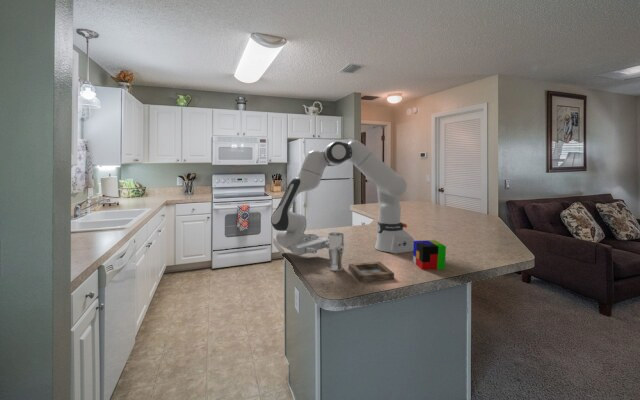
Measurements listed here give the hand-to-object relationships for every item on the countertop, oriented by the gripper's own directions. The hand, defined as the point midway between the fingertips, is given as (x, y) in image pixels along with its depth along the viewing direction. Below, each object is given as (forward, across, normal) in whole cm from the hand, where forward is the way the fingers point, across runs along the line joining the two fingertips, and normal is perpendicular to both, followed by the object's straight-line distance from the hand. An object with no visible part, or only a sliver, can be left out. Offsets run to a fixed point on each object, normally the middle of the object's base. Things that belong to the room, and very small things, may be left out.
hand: (323, 249), depth 134 cm
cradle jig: (+22, +5, +7) cm, 23 cm away
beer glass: (+8, 0, +7) cm, 10 cm away
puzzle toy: (+34, +32, +7) cm, 47 cm away
